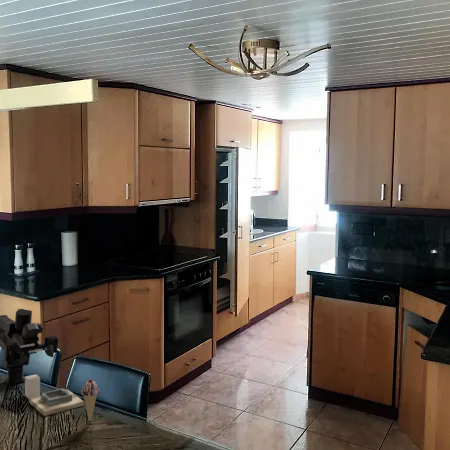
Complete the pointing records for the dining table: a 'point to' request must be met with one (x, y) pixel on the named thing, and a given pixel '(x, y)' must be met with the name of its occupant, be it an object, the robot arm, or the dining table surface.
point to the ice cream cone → (90, 396)
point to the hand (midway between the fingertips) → (40, 358)
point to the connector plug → (32, 386)
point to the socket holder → (55, 401)
